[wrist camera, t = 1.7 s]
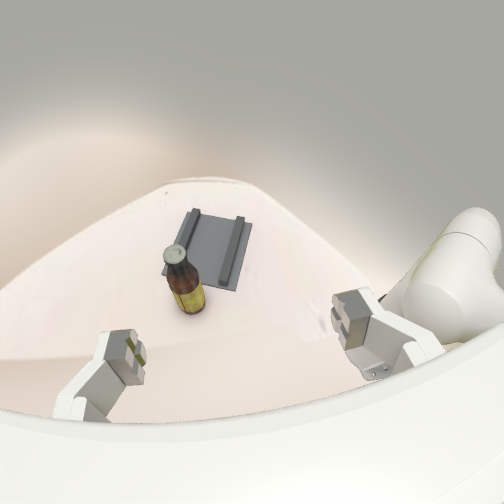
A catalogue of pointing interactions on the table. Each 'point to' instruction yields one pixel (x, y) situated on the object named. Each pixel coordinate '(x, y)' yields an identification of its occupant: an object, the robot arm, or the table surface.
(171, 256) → the sauce bottle
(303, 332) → the table surface
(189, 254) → the holder
